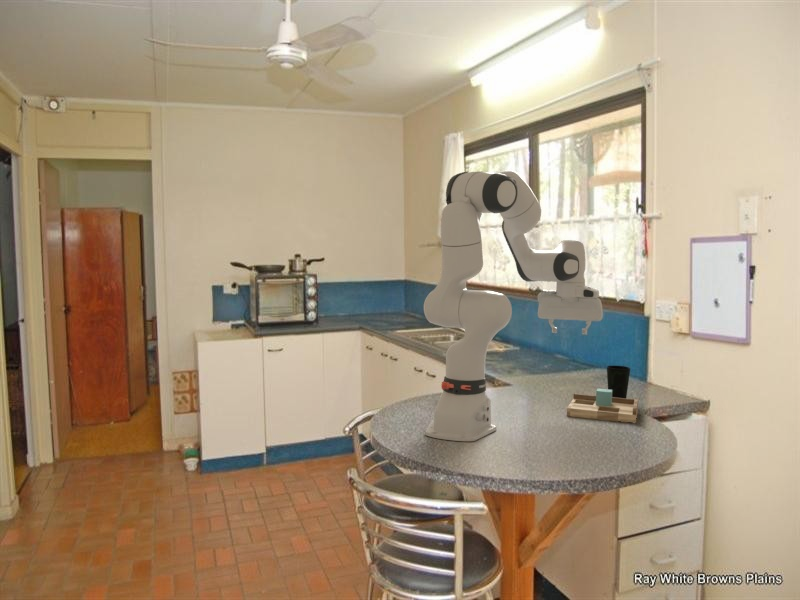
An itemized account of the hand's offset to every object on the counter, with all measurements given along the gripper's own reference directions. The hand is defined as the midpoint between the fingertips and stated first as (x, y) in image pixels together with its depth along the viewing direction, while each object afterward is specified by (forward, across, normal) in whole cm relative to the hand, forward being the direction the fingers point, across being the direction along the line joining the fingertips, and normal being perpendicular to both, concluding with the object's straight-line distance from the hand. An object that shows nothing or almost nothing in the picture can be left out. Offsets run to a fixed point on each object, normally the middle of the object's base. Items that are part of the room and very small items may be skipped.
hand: (569, 333), depth 202 cm
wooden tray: (+24, +11, -3) cm, 27 cm away
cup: (+25, +14, +18) cm, 34 cm away
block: (+22, +11, 0) cm, 25 cm away
